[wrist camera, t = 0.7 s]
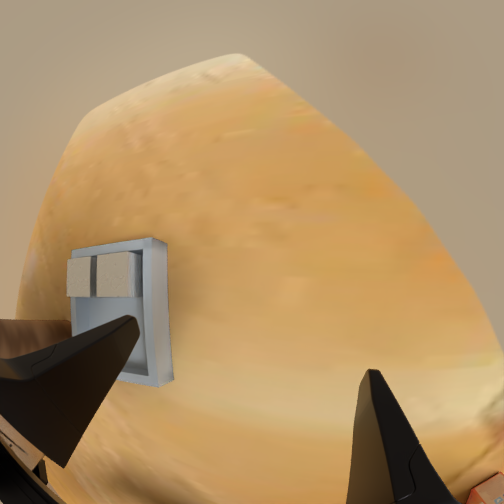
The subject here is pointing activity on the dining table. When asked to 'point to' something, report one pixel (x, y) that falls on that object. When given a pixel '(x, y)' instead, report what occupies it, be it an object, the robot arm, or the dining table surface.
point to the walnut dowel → (31, 335)
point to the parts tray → (134, 312)
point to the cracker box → (488, 491)
